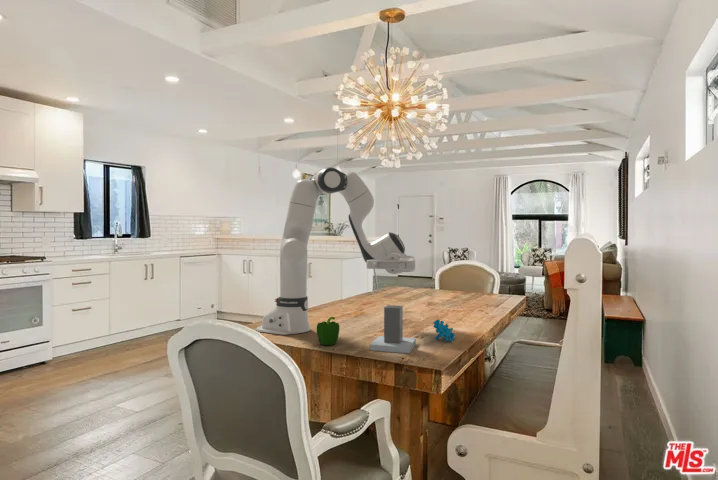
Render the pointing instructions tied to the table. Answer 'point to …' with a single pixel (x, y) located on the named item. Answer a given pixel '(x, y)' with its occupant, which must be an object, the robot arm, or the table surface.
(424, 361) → the table surface
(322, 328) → the bell pepper
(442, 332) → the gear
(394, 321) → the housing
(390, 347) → the base plate
